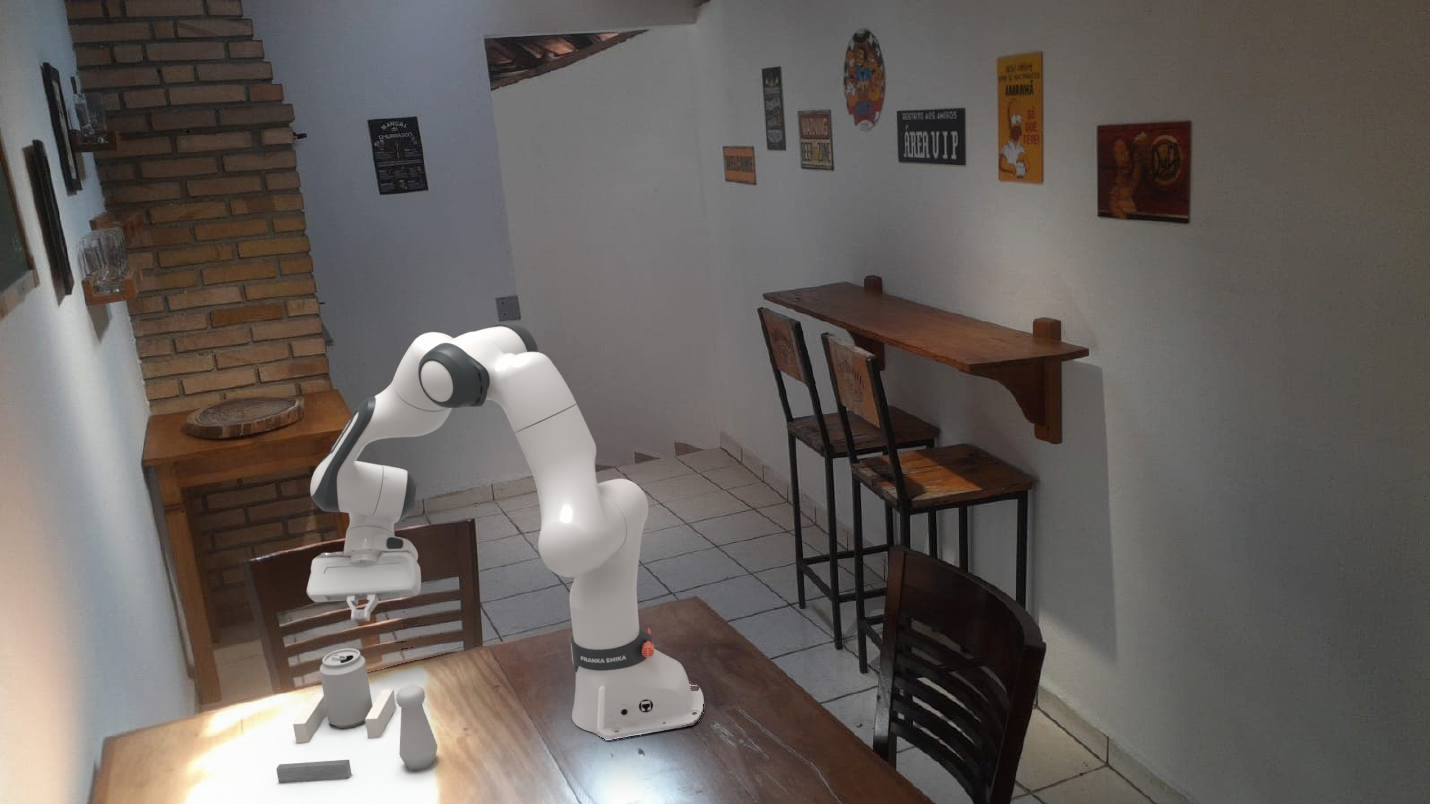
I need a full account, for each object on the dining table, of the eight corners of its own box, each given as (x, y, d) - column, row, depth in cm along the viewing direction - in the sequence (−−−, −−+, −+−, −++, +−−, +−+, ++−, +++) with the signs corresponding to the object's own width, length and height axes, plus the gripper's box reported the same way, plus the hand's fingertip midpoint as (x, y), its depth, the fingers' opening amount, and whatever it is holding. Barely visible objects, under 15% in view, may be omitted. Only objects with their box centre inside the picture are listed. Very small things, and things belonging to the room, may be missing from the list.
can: (359, 731, 183) (349, 666, 180) (319, 729, 184) (309, 664, 182) (381, 708, 190) (372, 646, 187) (342, 706, 192) (333, 644, 189)
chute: (396, 707, 190) (393, 689, 189) (379, 737, 180) (377, 718, 180) (316, 712, 190) (313, 694, 189) (296, 743, 180) (293, 724, 180)
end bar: (351, 773, 170) (349, 759, 170) (349, 778, 169) (346, 763, 168) (281, 778, 170) (279, 764, 169) (278, 782, 169) (276, 768, 168)
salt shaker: (446, 759, 172) (436, 685, 169) (419, 777, 168) (408, 701, 165) (421, 750, 176) (410, 677, 173) (393, 768, 171) (382, 693, 168)
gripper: (307, 546, 200) (296, 618, 193) (417, 539, 200) (410, 610, 193) (319, 560, 205) (308, 630, 198) (426, 553, 205) (420, 623, 198)
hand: (360, 620), depth 195 cm, fingers closed
